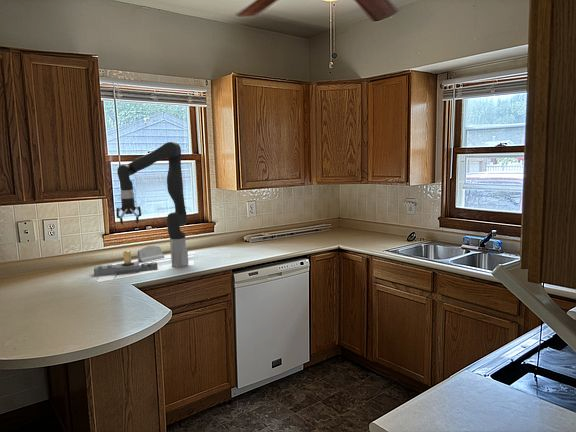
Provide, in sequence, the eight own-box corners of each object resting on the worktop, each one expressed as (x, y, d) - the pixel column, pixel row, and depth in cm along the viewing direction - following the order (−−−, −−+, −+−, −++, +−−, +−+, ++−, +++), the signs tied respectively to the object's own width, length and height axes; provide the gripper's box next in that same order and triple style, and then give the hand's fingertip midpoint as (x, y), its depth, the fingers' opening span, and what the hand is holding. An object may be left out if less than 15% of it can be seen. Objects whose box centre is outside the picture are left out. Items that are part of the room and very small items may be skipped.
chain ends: (157, 266, 269) (156, 258, 268) (158, 269, 259) (157, 261, 258) (95, 272, 257) (94, 264, 256) (94, 277, 247) (93, 268, 247)
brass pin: (133, 270, 259) (132, 250, 258) (128, 272, 256) (126, 252, 254) (128, 270, 261) (126, 250, 260) (123, 271, 258) (121, 251, 256)
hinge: (141, 262, 280) (138, 247, 281) (138, 263, 284) (135, 249, 285) (165, 257, 292) (161, 243, 293) (161, 259, 295) (158, 245, 296)
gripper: (139, 196, 271) (141, 222, 273) (115, 197, 266) (117, 224, 268) (140, 197, 264) (142, 223, 266) (115, 198, 259) (117, 225, 261)
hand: (129, 223), depth 267 cm, fingers open, 8 cm apart
